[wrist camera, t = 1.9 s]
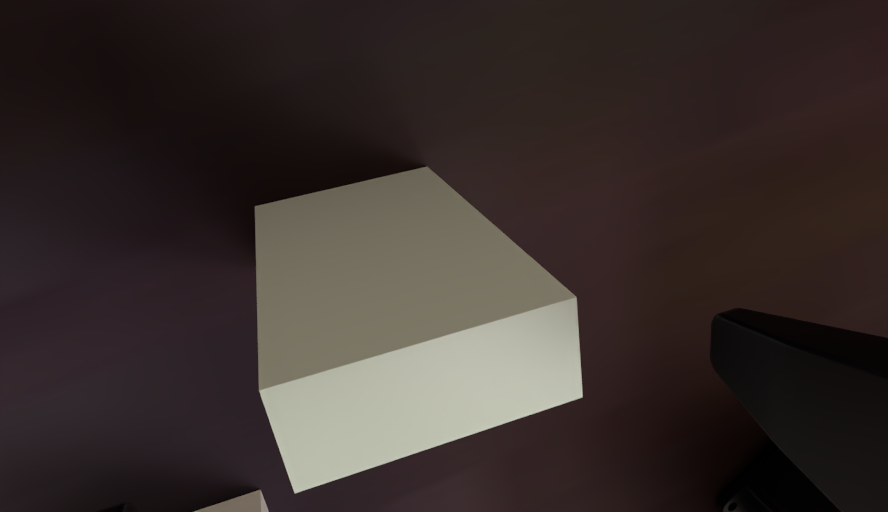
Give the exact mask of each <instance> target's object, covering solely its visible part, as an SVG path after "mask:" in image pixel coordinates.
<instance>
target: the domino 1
mask: <svg viewBox="0 0 888 512" xmlns="http://www.w3.org/2000/svg"><path fill="white" fill-rule="evenodd" d="M194 512H269V511H268V508H267V506H266V503H265V500H264V498H263V495H262V492H261V490H258V491H255V492H252V493H248V494H245V495H242V496H239V497H236V498H233V499H230V500H227V501H224V502H221V503H218V504H215V505H212V506H209V507H206V508H203V509H200V510H197V511H194Z"/></svg>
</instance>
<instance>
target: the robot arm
mask: <svg viewBox="0 0 888 512" xmlns="http://www.w3.org/2000/svg"><path fill="white" fill-rule="evenodd" d="M710 359H711V363H712V366H713V368H714V370H715V371H716V373H717V374H718V375H719V376H720V378H721V379H722V380H723V381H724V383H725V384H726V385H727V386H728V387H729V389H730V390H731V391H732V392H733V394H734V395H735V396H736V397H737V398H738V400H739V401H740V402H741V403H742V405H743V406H744V407H745V408H746V409H747V411H748V412H749V413H750V414H751V416H752V417H753V418H754V419H755V421H756V422H757V423H758V424H759V425H760V427H761V428H762V429H763V430H764V432H765V433H766V434H767V435H768V436H769V437H770V439H771V440H772V441H773V442H774V443H775V445H774V446H773V447H772V448H771V449H770V450H769V451H768V452H767V453H766V454H765V455H764V456H763V457H762V458H761V459H760V460H759V461H758V462H757V463H755V464H754V465H753V466H752V467H751V468H750V469H749V470H748V471H747V472H746V473H745V474H744V475H743V476H742V477H741V478H740V479H739V480H738V481H737V482H736V483H735V484H734V485H732V486H731V487H730V488H729V489H728V490H727V491H726V492H725V493H724V494H723V495H722V496H721V497H720V498H719V500H718V502H717V506H718V508H719V509H720V510H721V511H722V512H888V338H885V337H880V336H875V335H870V334H865V333H861V332H856V331H851V330H846V329H841V328H836V327H831V326H826V325H821V324H816V323H811V322H806V321H801V320H796V319H791V318H786V317H782V316H777V315H772V314H767V313H762V312H757V311H752V310H747V309H742V308H735V309H731V310H728V311H725V312H722V313H719V314H717V315H715V316H714V318H713V320H712V324H711V344H710ZM96 512H137V511H136V509H135V508H134V506H133V505H132V504H131V503H127V502H123V503H120V504H117V505H113V506H110V507H107V508H104V509H101V510H98V511H96Z"/></svg>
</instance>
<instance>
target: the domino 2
mask: <svg viewBox="0 0 888 512" xmlns="http://www.w3.org/2000/svg"><path fill="white" fill-rule="evenodd" d="M255 238H256V281H257V324H258V367H259V392H260V395H261V398H262V401H263V403H264V406H265V409H266V412H267V415H268V418H269V421H270V424H271V427H272V430H273V432H274V435H275V438H276V441H277V444H278V447H279V450H280V453H281V456H282V458H283V461H284V464H285V467H286V470H287V473H288V476H289V479H290V482H291V484H292V487H293V490H294V493H298V492H301V491H304V490H307V489H310V488H313V487H316V486H319V485H322V484H325V483H328V482H331V481H334V480H337V479H340V478H343V477H346V476H349V475H352V474H355V473H358V472H361V471H364V470H367V469H370V468H373V467H376V466H379V465H382V464H385V463H388V462H391V461H394V460H397V459H400V458H403V457H406V456H408V455H411V454H414V453H417V452H420V451H423V450H426V449H429V448H432V447H435V446H438V445H441V444H444V443H447V442H450V441H453V440H456V439H459V438H462V437H465V436H468V435H471V434H474V433H477V432H480V431H483V430H486V429H489V428H492V427H495V426H498V425H501V424H504V423H507V422H510V421H513V420H516V419H519V418H522V417H525V416H528V415H531V414H534V413H537V412H540V411H543V410H546V409H549V408H552V407H555V406H558V405H561V404H564V403H567V402H570V401H573V400H576V399H579V398H582V397H583V394H582V378H581V362H580V345H579V329H578V313H577V297H576V296H575V295H574V294H572V293H571V292H570V291H569V290H568V289H567V288H566V287H564V286H563V285H562V284H561V283H560V282H559V281H558V280H556V279H555V278H554V277H553V276H552V275H551V274H550V273H548V272H547V271H546V270H545V269H544V268H543V267H542V266H540V265H539V264H538V263H537V262H536V261H535V260H534V259H532V258H531V257H530V256H529V255H528V254H527V253H526V252H524V251H523V250H522V249H521V248H520V247H519V246H517V245H516V244H515V243H514V242H513V241H512V240H511V239H509V238H508V237H507V236H506V235H505V234H504V233H503V232H501V231H500V230H499V229H498V228H497V227H496V226H495V225H493V224H492V223H491V222H490V221H489V220H488V219H487V218H485V217H484V216H483V215H482V214H481V213H480V212H479V211H477V210H476V209H475V208H474V207H473V206H472V205H471V204H469V203H468V202H467V201H466V200H465V199H464V198H463V197H461V196H460V195H459V194H458V193H457V192H456V191H455V190H453V189H452V188H451V187H450V186H449V185H448V184H447V183H445V182H444V181H443V180H442V179H441V178H440V177H439V176H437V175H436V174H435V173H434V172H433V171H432V170H430V169H429V168H428V167H423V168H419V169H414V170H410V171H406V172H401V173H397V174H393V175H388V176H384V177H380V178H375V179H371V180H367V181H362V182H358V183H354V184H349V185H345V186H341V187H336V188H332V189H328V190H323V191H319V192H315V193H310V194H306V195H302V196H297V197H293V198H289V199H284V200H280V201H276V202H271V203H267V204H263V205H258V206H255Z"/></svg>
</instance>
